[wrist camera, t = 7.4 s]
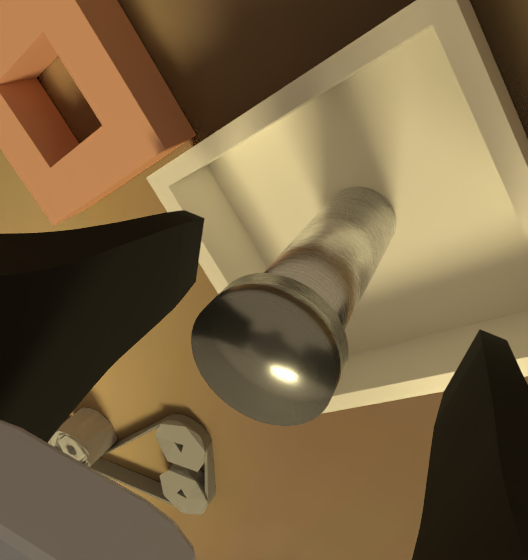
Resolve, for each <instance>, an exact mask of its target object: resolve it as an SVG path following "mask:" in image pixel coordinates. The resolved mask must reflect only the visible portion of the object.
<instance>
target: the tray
mask: <svg viewBox="0 0 528 560" xmlns="http://www.w3.org/2000/svg"><path fill="white" fill-rule="evenodd" d="M146 178H147V180H148V182H149V183H150V185H151V186H152V188H153V190H154V191H155V193H156V194H157V196H158V198H159V199H160V201H161V203H162V204H163V206H164V207H165V209H166V211H167V212H173V211H181V210H185V211H188V212H190V213H193V214H195V215H198V216H200V217H203V218H205V219H204V226H203V233H202V240H201V247H200V254H199V261H198V262H199V263H200V265H201V267H202V268H203V270H204V271H205V273H206V275H207V276H208V278H209V280H210V281H211V283H212V284H213V286H214V288H215V289H216V291H217V292H218V294H219V293H220V292H221V291H222V290H223V289H224V288H225V287H226V286H227V285H228V284H230V283H231V282H233V281H234V280H236V279H238V278H240V277H242V276H245V275H248V274H254V273H264V272H265V271H266V269H267V268H268V267H269V266H270V265H271V264H272V263H273V262H274V261H275V260H276V259H277V257H278V256H279V255H280V254H281V253H282V252H283V251H284V250H285V249H286V248H287V247H288V245H289V244H290V243H291V242H292V241H293V240H294V239H295V238H296V237H297V236H298V235H299V233H300V232H301V231H302V230H303V229H304V228H305V227H306V226H307V225H308V224H309V222H310V221H311V220H312V219H313V218H314V217H315V216H316V215H317V214H318V213H319V212H320V210H321V209H322V208H323V207H324V206H325V205H326V204H327V203H328V202H329V201H330V200H331V198H332V197H333V196H334V195H335V194H337V193H338V192H340V191H341V190H343V189H346V188H349V187H356V186H357V187H367V188H370V189H373V190H375V191H377V192H378V193H380V194H381V195H383V196H384V197H385V198H386V199H387V200H388V201H389V203H390V204H391V206H392V208H393V210H394V212H395V216H396V231H395V234H394V236H393V238H392V240H391V242H390V244H389V246H388V248H387V250H386V252H385V254H384V256H383V257H382V259H381V261H380V263H379V265H378V267H377V269H376V271H375V273H374V275H373V277H372V278H371V280H370V282H369V284H368V286H367V288H366V290H365V292H364V294H363V296H362V298H361V299H360V301H359V303H358V305H357V307H356V309H355V311H354V313H353V315H352V317H351V318H350V320H349V322H348V324H347V326H346V328H345V333H346V336H347V341H348V350H349V354H348V362H347V365H346V368H345V371H344V373H343V375H342V377H341V379H340V381H339V383H338V385H337V388H336V390H335V392H334V394H333V396H332V398H331V400H330V402H329V404H328V406H327V407H326V409H325V410H324V411H323V412H322V413H326V412H332V411H337V410H343V409H348V408H354V407H359V406H365V405H370V404H376V403H381V402H387V401H392V400H398V399H404V398H409V397H415V396H420V395H426V394H431V393H437V392H442V391H444V390H445V389H446V387H447V385H448V384H449V382H450V380H451V378H452V377H453V375H454V373H455V371H456V370H457V368H458V366H459V364H460V363H461V361H462V359H463V357H464V356H465V354H466V352H467V350H468V349H469V347H470V345H471V343H472V342H473V340H474V338H475V336H476V335H477V333H478V331H479V329H481V330H483V331H486V332H488V333H491V334H493V335H496V336H498V337H500V338H503V339H505V340H507V341H508V343H509V345H510V348H511V350H512V352H513V354H514V356H515V359H516V361H517V363H518V365H519V368H520V370H521V372H522V374H523V376H524V377H525V376H528V138H527V136H526V133H525V131H524V129H523V126H522V124H521V121H520V119H519V117H518V114H517V112H516V109H515V107H514V105H513V102H512V100H511V98H510V95H509V93H508V90H507V88H506V86H505V83H504V81H503V79H502V76H501V74H500V71H499V69H498V67H497V64H496V62H495V60H494V57H493V55H492V52H491V50H490V48H489V45H488V43H487V41H486V38H485V36H484V33H483V31H482V29H481V26H480V24H479V21H478V19H477V17H476V14H475V12H474V10H473V7H472V5H471V2H470V0H416V1H414V2H413V3H411V4H410V5H408V6H407V7H405V8H404V9H402V10H401V11H399V12H397V13H396V14H394V15H393V16H391V17H390V18H388V19H387V20H385V21H384V22H382V23H381V24H379V25H378V26H376V27H375V28H373V29H372V30H370V31H369V32H367V33H366V34H364V35H362V36H361V37H359V38H358V39H356V40H355V41H353V42H352V43H350V44H349V45H347V46H346V47H344V48H343V49H341V50H340V51H338V52H337V53H335V54H334V55H332V56H331V57H329V58H327V59H326V60H324V61H323V62H321V63H320V64H318V65H317V66H315V67H314V68H312V69H311V70H309V71H308V72H306V73H305V74H303V75H302V76H300V77H299V78H297V79H296V80H294V81H292V82H291V83H289V84H288V85H286V86H285V87H283V88H282V89H280V90H279V91H277V92H276V93H274V94H273V95H271V96H270V97H268V98H267V99H265V100H264V101H262V102H261V103H259V104H257V105H256V106H254V107H253V108H251V109H250V110H248V111H247V112H245V113H244V114H242V115H241V116H239V117H238V118H236V119H235V120H233V121H232V122H230V123H229V124H227V125H226V126H224V127H222V128H221V129H219V130H218V131H216V132H215V133H213V134H212V135H210V136H209V137H207V138H206V139H204V140H203V141H201V142H200V143H198V144H197V145H195V146H194V147H192V148H191V149H189V150H187V151H186V152H184V153H183V154H181V155H180V156H178V157H177V158H175V159H174V160H172V161H171V162H169V163H168V164H166V165H165V166H163V167H162V168H160V169H159V170H157V171H156V172H154V173H152V174H151V175H149V176H148V177H146Z"/></svg>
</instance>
